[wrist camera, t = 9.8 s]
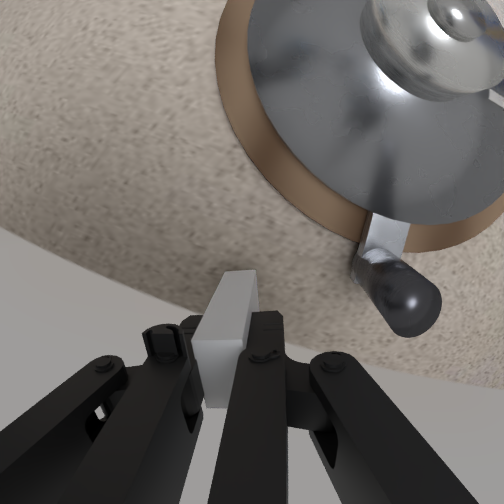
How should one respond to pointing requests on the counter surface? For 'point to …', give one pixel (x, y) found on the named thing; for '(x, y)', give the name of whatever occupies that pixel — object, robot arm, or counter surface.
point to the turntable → (375, 142)
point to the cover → (435, 45)
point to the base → (289, 168)
